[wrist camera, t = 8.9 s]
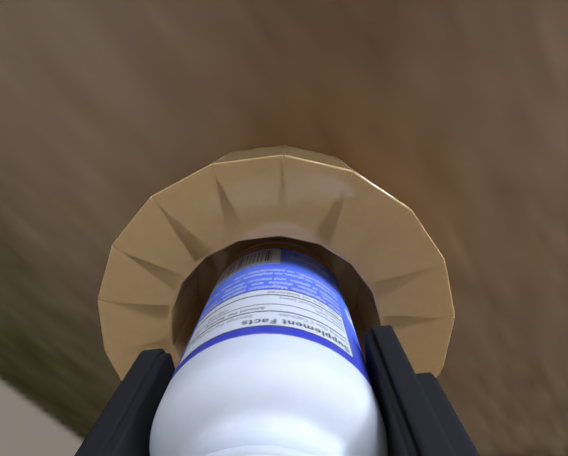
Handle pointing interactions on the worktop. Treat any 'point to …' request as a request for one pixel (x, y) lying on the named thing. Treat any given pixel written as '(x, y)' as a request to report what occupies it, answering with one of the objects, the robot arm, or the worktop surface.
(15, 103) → the worktop surface
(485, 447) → the worktop surface
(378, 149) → the worktop surface
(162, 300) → the tape roll
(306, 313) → the pill bottle
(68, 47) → the worktop surface
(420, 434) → the robot arm
